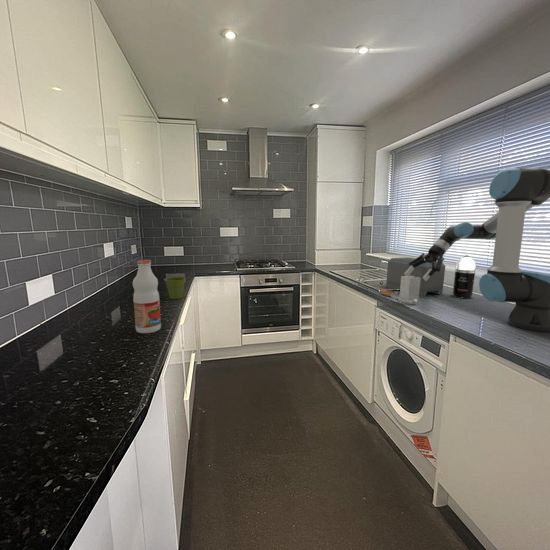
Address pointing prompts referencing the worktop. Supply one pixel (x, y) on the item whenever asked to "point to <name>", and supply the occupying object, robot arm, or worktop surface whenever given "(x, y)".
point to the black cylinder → (464, 277)
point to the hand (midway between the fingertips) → (414, 277)
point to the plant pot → (175, 287)
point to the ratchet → (392, 294)
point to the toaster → (400, 267)
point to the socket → (410, 287)
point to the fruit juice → (146, 299)
